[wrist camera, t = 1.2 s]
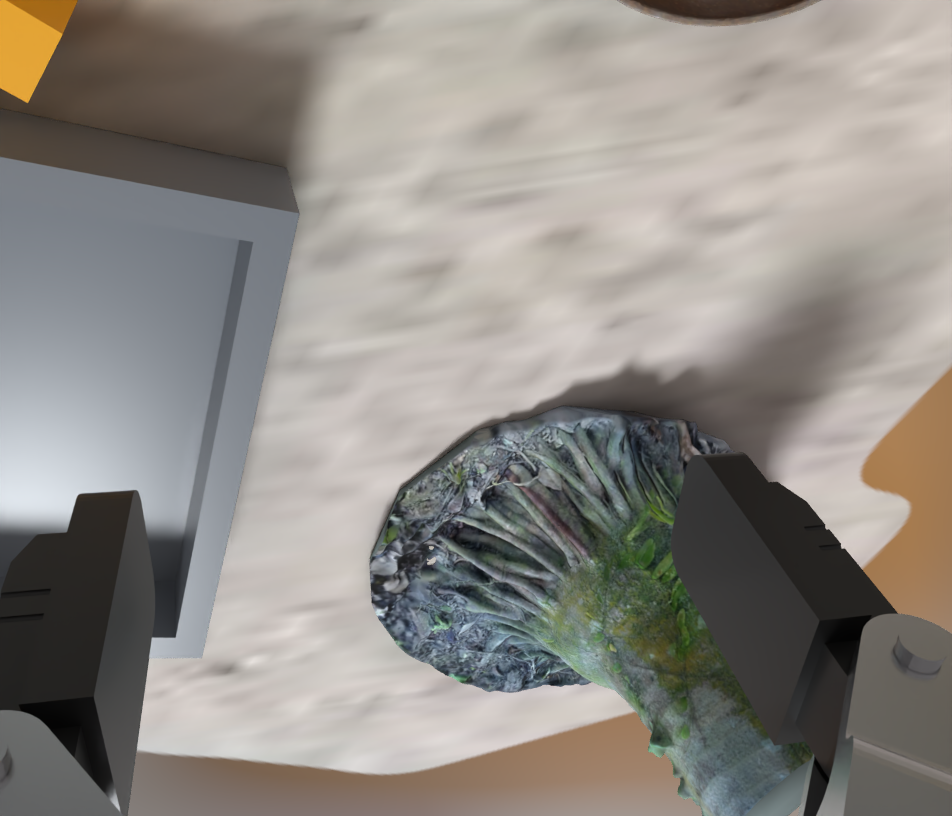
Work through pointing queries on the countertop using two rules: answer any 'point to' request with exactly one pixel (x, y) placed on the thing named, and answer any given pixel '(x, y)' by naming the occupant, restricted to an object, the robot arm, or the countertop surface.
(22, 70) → the pipe clamp
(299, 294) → the countertop surface
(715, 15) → the plant saucer
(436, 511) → the tree stump
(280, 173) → the tray
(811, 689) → the robot arm
